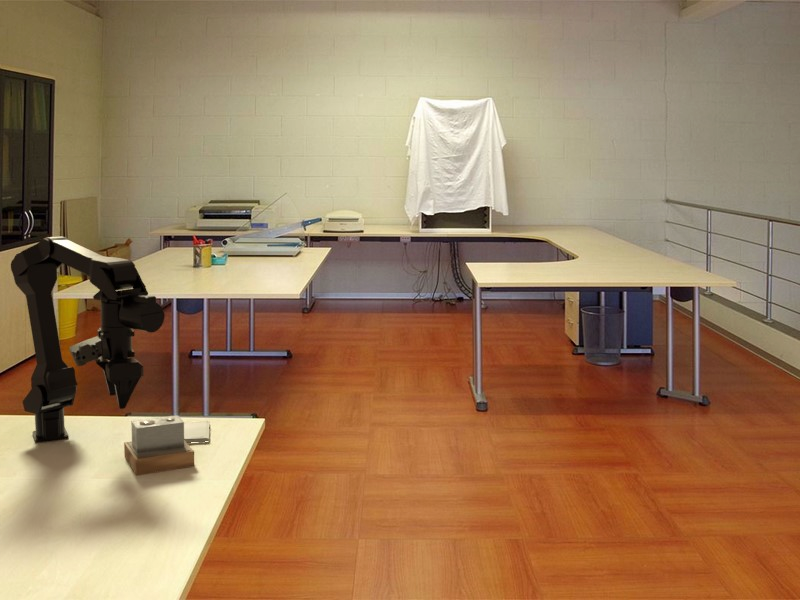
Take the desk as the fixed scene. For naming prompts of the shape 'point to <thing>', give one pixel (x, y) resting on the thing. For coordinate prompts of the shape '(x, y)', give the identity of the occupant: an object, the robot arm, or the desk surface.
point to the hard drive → (196, 431)
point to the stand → (159, 459)
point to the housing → (157, 434)
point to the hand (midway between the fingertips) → (117, 401)
